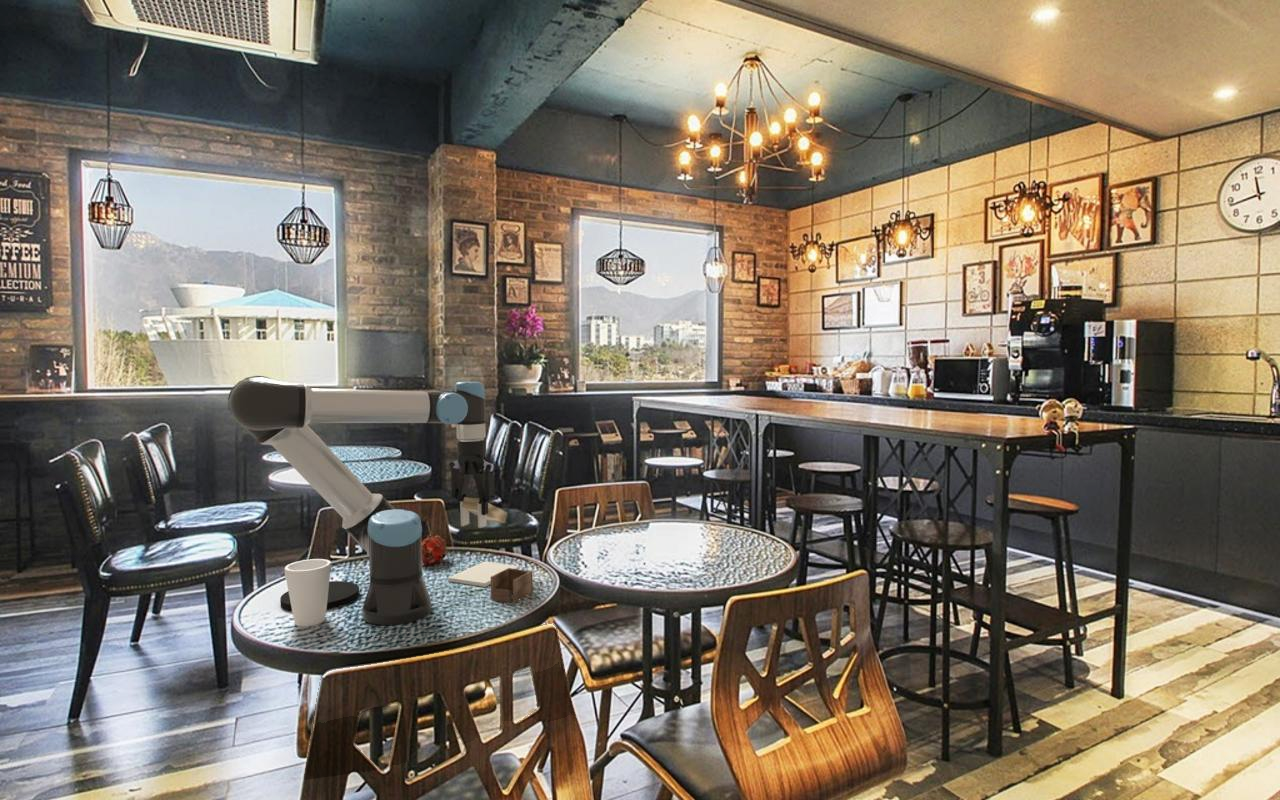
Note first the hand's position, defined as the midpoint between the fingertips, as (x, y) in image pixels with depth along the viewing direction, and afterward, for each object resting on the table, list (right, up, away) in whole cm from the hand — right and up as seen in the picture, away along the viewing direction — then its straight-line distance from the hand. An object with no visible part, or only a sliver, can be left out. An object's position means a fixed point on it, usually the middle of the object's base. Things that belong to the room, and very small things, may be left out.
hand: (473, 525), depth 182 cm
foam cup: (-31, -17, -27) cm, 44 cm away
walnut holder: (+12, -16, -12) cm, 23 cm away
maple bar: (+2, +2, +4) cm, 5 cm away
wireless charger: (-35, -17, -13) cm, 41 cm away
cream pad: (+2, -15, +5) cm, 16 cm away
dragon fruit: (-16, -14, +17) cm, 28 cm away
